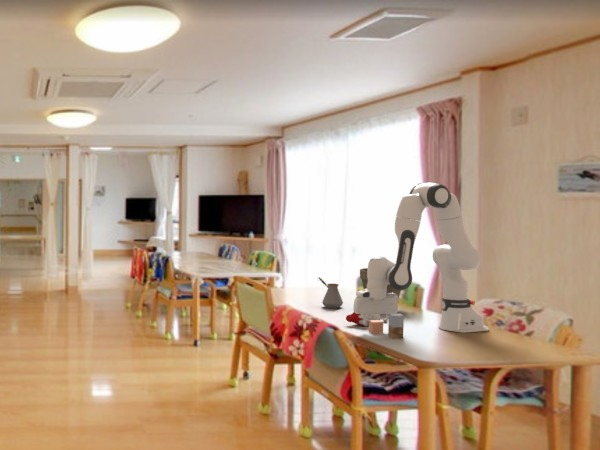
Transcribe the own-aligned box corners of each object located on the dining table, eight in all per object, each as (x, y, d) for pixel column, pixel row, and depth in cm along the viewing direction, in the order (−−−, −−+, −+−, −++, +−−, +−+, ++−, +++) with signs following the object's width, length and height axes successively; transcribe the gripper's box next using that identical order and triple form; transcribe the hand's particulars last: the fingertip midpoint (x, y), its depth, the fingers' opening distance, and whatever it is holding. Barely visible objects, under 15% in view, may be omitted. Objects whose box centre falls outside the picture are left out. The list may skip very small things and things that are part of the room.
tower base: (399, 336, 272) (399, 324, 272) (403, 338, 267) (403, 327, 267) (388, 336, 271) (388, 325, 271) (392, 338, 266) (392, 327, 266)
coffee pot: (346, 308, 341) (347, 281, 340) (329, 309, 335) (329, 282, 335) (326, 302, 360) (327, 276, 359) (309, 303, 354) (310, 277, 353)
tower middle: (399, 324, 272) (399, 313, 272) (403, 327, 267) (403, 315, 267) (388, 325, 271) (388, 313, 271) (392, 327, 266) (392, 315, 266)
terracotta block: (379, 330, 283) (379, 320, 283) (383, 333, 278) (383, 322, 278) (368, 331, 282) (369, 320, 282) (372, 333, 277) (372, 322, 277)
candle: (382, 326, 291) (352, 331, 287) (372, 321, 302) (343, 326, 298) (380, 307, 290) (350, 312, 286) (371, 303, 301) (342, 307, 297)
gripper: (395, 292, 284) (394, 322, 284) (352, 291, 280) (351, 322, 280) (400, 294, 278) (399, 324, 278) (357, 293, 273) (356, 325, 274)
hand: (375, 323), depth 279 cm, fingers open, 8 cm apart
